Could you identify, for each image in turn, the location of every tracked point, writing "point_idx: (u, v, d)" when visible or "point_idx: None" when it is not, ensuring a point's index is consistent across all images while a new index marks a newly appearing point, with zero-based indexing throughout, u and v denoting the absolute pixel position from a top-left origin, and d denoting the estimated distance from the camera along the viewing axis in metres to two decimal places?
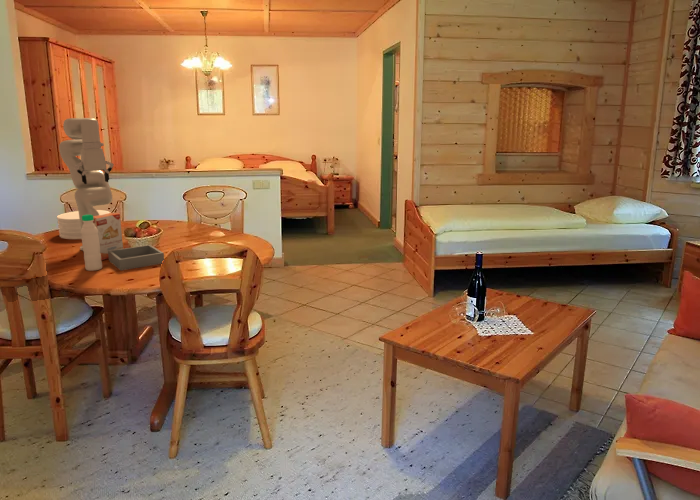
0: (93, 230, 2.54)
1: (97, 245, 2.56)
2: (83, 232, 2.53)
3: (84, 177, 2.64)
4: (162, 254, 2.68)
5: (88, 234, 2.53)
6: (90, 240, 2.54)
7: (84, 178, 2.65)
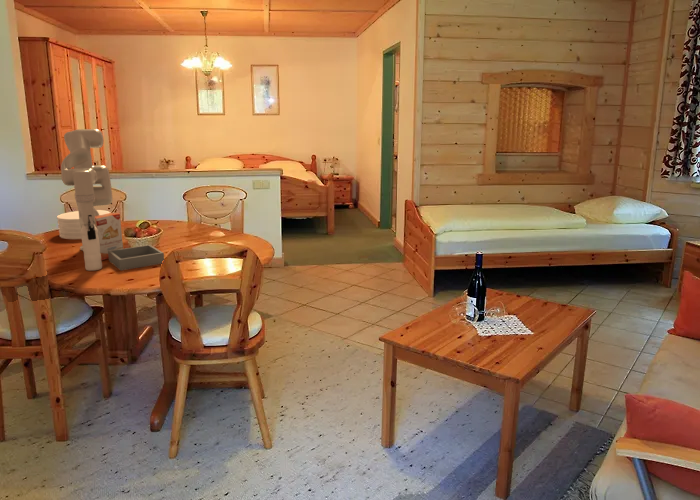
0: None
1: (97, 245, 2.56)
2: (83, 232, 2.53)
3: None
4: (162, 254, 2.68)
5: None
6: (90, 240, 2.54)
7: (94, 233, 2.53)
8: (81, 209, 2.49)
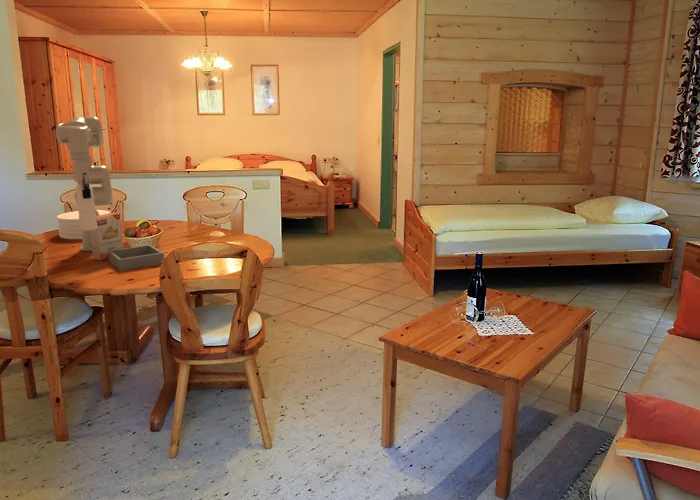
0: None
1: (92, 205, 2.52)
2: (78, 191, 2.48)
3: None
4: (162, 254, 2.68)
5: None
6: (85, 199, 2.49)
7: (89, 192, 2.49)
8: (76, 167, 2.45)
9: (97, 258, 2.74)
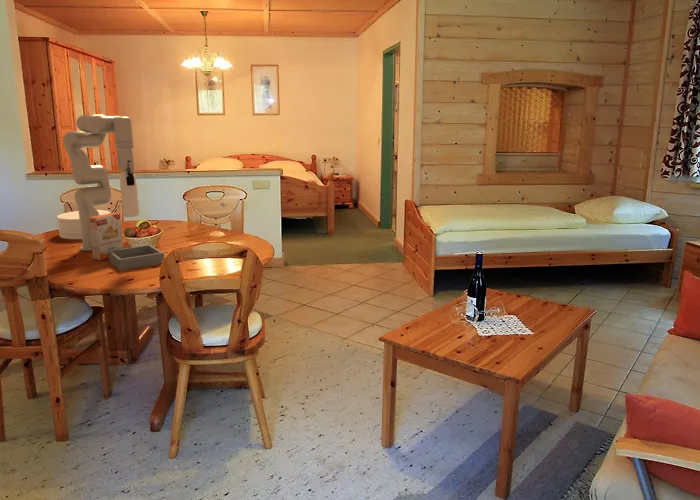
0: None
1: (135, 191, 2.62)
2: (122, 178, 2.58)
3: (133, 178, 2.59)
4: (162, 254, 2.68)
5: None
6: (129, 186, 2.59)
7: (133, 179, 2.59)
8: (121, 155, 2.55)
9: (97, 258, 2.74)
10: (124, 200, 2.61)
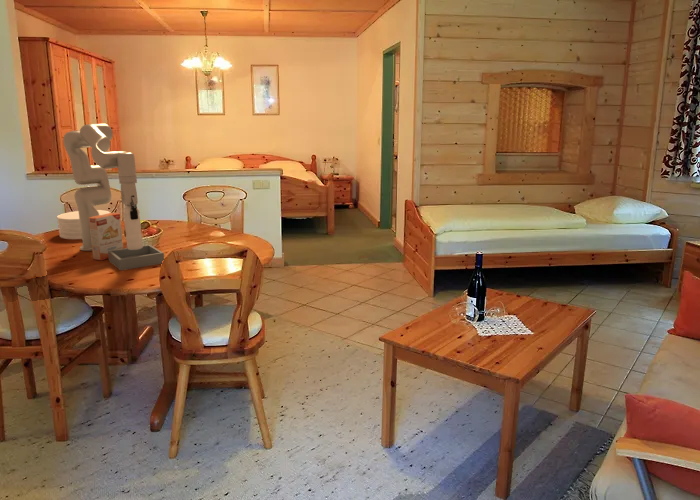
0: None
1: (139, 225, 2.66)
2: (126, 212, 2.62)
3: (137, 212, 2.63)
4: (162, 254, 2.68)
5: None
6: (132, 220, 2.63)
7: (136, 213, 2.63)
8: (124, 190, 2.59)
9: (97, 258, 2.74)
10: (128, 234, 2.65)
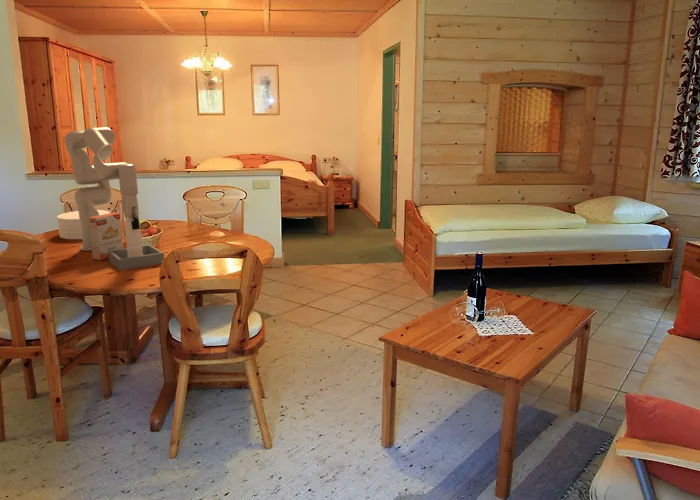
0: None
1: (139, 237, 2.67)
2: (127, 224, 2.63)
3: (138, 222, 2.63)
4: (162, 254, 2.68)
5: (131, 226, 2.64)
6: (133, 232, 2.64)
7: (138, 223, 2.63)
8: (125, 201, 2.60)
9: (97, 258, 2.74)
10: (129, 245, 2.66)
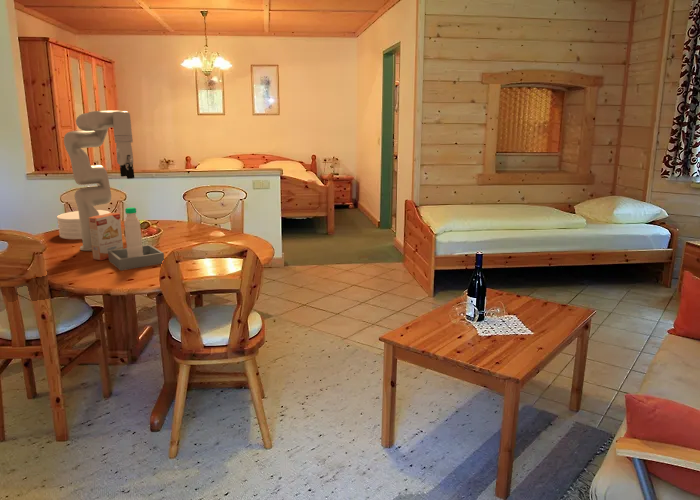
0: (136, 223, 2.64)
1: (139, 237, 2.67)
2: (127, 224, 2.63)
3: (133, 171, 2.57)
4: (162, 254, 2.68)
5: (131, 226, 2.64)
6: (133, 232, 2.64)
7: (133, 172, 2.57)
8: (120, 149, 2.54)
9: (97, 258, 2.74)
10: (129, 245, 2.66)
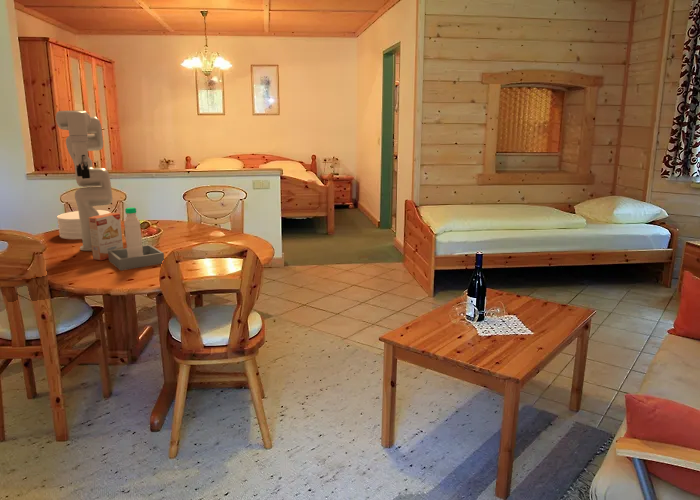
0: (136, 223, 2.64)
1: (139, 237, 2.67)
2: (127, 224, 2.63)
3: (88, 171, 2.58)
4: (162, 254, 2.68)
5: (131, 226, 2.64)
6: (133, 232, 2.64)
7: (88, 172, 2.58)
8: (75, 149, 2.55)
9: (97, 258, 2.74)
10: (129, 245, 2.66)
